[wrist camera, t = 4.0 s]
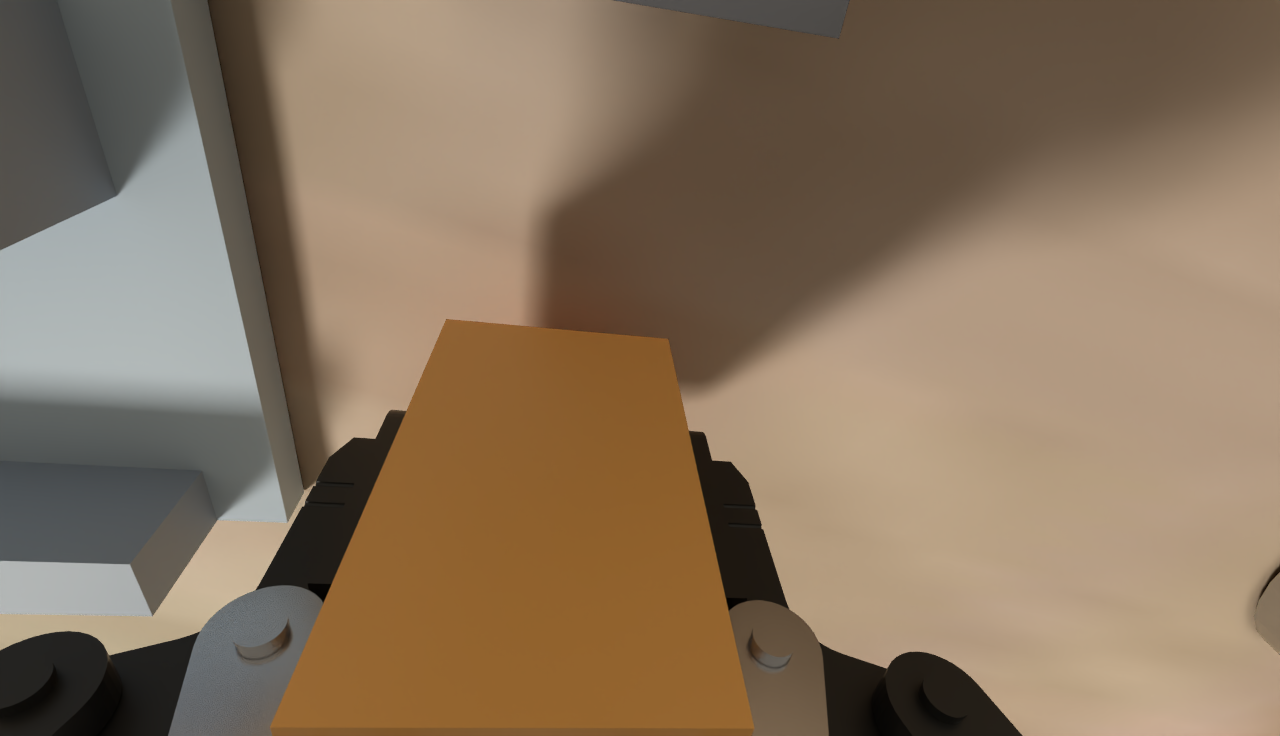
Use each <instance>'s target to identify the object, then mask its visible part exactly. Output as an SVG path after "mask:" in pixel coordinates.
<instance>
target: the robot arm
mask: <svg viewBox="0 0 1280 736" xmlns="http://www.w3.org/2000/svg"><path fill="white" fill-rule="evenodd" d="M405 414H406V411H399V410H391V411H389V412H388V414H387V416H386V418H385V420H384V422H383V424H382V426H381V428H380V431H379V433H378V435H377V437H376V439H368V438H353V439H352V440H350V441H349V442H348V443H347V444H345V445H344V446H343V447H342V448H340V449H339V450H338V451H337V452H335V453H334V454H333V455H332V456H331V457H329V459H328V461H327V463H326V465H325V466H324V468H323V470H322V472H321V474H320V475H319V477H318V479H317V481H316V486H313V488H312V490H311V492H310V493H309V495H308V497H307V499H306V501H305V506H304V507H302V508H301V510H300V512H299V513H298V515H297V517H296V519H295V521H294V522H293V524H292V526H291V528H290V530H289V532H288V533H287V535H286V537H285V539H284V541H283V542H282V544H281V546H280V548H279V550H278V551H277V553H276V555H275V557H274V559H273V560H272V562H271V564H270V566H269V568H268V570H267V571H266V573H265V575H264V577H263V579H262V580H261V582H260V584H259V586H258V587H257V589H256V590H255V591H253V592H250V593H247V594H245V595H243V596H241V597H239V598H237V599H235V600H234V601H232V602H230V603H228V604H227V605H226V606H224V607H223V608H222V609H220V610H219V611H218V612H217V613H216V614H215V615H214V616H213V617H212V618H210V620H209V621H208V622H207V623H206V624H205V626H204V627H203V628H202V630H201V631H200V632H198V633H195V634H193V635H190V636H187V637H183V638H180V639H176V640H172V641H168V642H164V643H160V644H156V645H151V646H147V647H143V648H139V649H135V650H130V651H126V652H122V653H118V654H114V655H108V653H107V651H106V649H105V647H104V645H103V644H102V643H101V642H100V641H99V640H98V639H97V638H95V637H93V636H91V635H89V634H85V633H81V632H70V631H67V632H54V633H49V634H43V635H39V636H36V637H32V638H29V639H26V640H23V641H21V642H18V643H15V644H13V645H11V646H9V647H7V648H5V649H2V650H0V736H272V733H271V730H270V726H271V723H272V721H273V719H274V716H275V714H276V712H277V709H278V707H279V705H280V703H281V700H282V698H283V696H284V693H285V691H286V689H287V686H288V684H289V682H290V679H291V677H292V675H293V672H294V670H295V668H296V666H297V663H298V661H299V659H300V656H301V654H302V652H303V649H304V647H305V645H306V642H307V640H308V638H309V635H310V633H311V631H312V629H313V626H314V624H315V622H316V619H317V617H318V615H319V612H320V610H321V608H322V605H323V603H324V601H325V598H326V596H327V594H328V592H329V589H330V587H331V585H332V582H333V580H334V578H335V575H336V573H337V571H338V568H339V566H340V564H341V561H342V559H343V557H344V555H345V552H346V550H347V548H348V545H349V543H350V541H351V538H352V536H353V534H354V531H355V529H356V527H357V525H358V522H359V520H360V518H361V515H362V513H363V511H364V508H365V506H366V504H367V501H368V499H369V497H370V494H371V492H372V490H373V488H374V485H375V483H376V481H377V478H378V476H379V474H380V471H381V469H382V467H383V464H384V462H385V460H386V457H387V455H388V453H389V451H390V448H391V446H392V444H393V441H394V439H395V437H396V434H397V432H398V430H399V427H400V425H401V423H402V420H403V418H404V416H405ZM689 435H690V439H691V444H692V448H693V453H694V457H695V462H696V466H697V471H698V476H699V480H700V485H701V489H702V494H703V498H704V503H705V507H706V512H707V516H708V521H709V525H710V530H711V534H712V539H713V543H714V548H715V552H716V557H717V561H718V566H719V570H720V575H721V579H722V584H723V588H724V593H725V597H726V602H727V606H728V611H729V615H730V620H731V624H732V629H733V633H734V638H735V642H736V647H737V652H738V656H739V661H740V665H741V670H742V674H743V679H744V683H745V688H746V692H747V697H748V701H749V706H750V710H751V715H752V719H753V724H754V728H755V729H754V731H753V733H752V735H751V736H1022V735H1021V733H1020V732H1019V731H1018V730H1017V729H1016V728H1015V727H1014V725H1013V724H1012V723H1011V722H1010V721H1009V720H1008V719H1007V717H1006V716H1005V715H1004V714H1003V713H1002V712H1001V711H1000V709H999V708H998V707H997V706H996V705H995V704H994V702H993V701H992V700H991V699H990V698H989V697H988V696H987V694H986V693H985V692H984V691H983V690H982V689H981V688H980V686H979V685H978V684H977V683H976V682H975V681H974V680H973V679H972V678H971V677H970V676H969V675H967V674H966V673H965V672H964V671H963V670H961V669H960V668H958V667H957V666H956V665H954V664H952V663H951V662H949V661H947V660H945V659H943V658H941V657H938V656H936V655H932V654H929V653H924V652H908V653H904V654H901V655H899V656H898V657H896V658H895V659H894V660H893V661H892V662H891V664H890V665H889V667H888V669H886V668H883V667H880V666H877V665H874V664H871V663H868V662H865V661H862V660H859V659H856V658H853V657H850V656H847V655H844V654H841V653H839V652H836V651H834V650H832V649H830V648H828V647H826V646H824V645H823V644H821V643H820V642H819V641H818V639H817V638H816V636H815V634H814V632H813V631H812V630H811V628H810V627H809V626H808V625H807V624H806V622H805V621H804V620H803V619H801V618H800V617H799V616H798V615H797V614H795V613H794V612H792V611H791V610H789V607H788V605H787V602H786V600H785V596H784V593H783V590H782V587H781V584H780V581H779V578H778V574H777V571H776V568H775V565H774V562H773V559H772V556H771V553H770V549H769V546H768V543H767V540H766V537H765V534H764V531H763V529H761V525H762V524H761V521H760V518H759V515H758V512H757V510H755V502H754V499H753V496H752V493H751V490H750V487H749V483H748V482H747V480H746V479H745V478H744V477H743V476H742V475H741V473H740V472H739V471H738V470H737V469H736V467H735V466H734V465H733V464H732V463H731V462H725V461H712V459H711V455H710V451H709V447H708V443H707V439H706V436H705V434H704V433H703V432H695V431H689ZM1254 620H1255V627H1256V630H1257V631H1258V633H1259V634H1260V635H1261V637H1262V638H1263V639H1264V640H1265V641H1266V642H1267V643H1268V644H1269V645H1270V646H1271V647H1272V648H1273V649H1274V650H1275V651H1276V652H1277V653H1278V654H1279V655H1280V572H1279V574H1278V575H1277V576H1276V577H1275V578H1274V579H1273V580H1272V581H1271V582H1270V584H1269V585H1268V587H1267V588H1266V590H1265V592H1264V593H1263V595H1262V596H1261V598H1260V599H1259V601H1258V605H1257V608H1256V612H1255V615H1254Z"/></svg>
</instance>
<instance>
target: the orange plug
mask: <svg viewBox="0 0 1280 736" xmlns="http://www.w3.org/2000/svg"><path fill="white" fill-rule="evenodd" d="M754 729H755V728H754V724H753V719H752V715H751V710H750V706H749V701H748V697H747V692H746V688H745V683H744V679H743V674H742V670H741V665H740V661H739V656H738V652H737V647H736V642H735V638H734V633H733V629H732V624H731V620H730V615H729V611H728V606H727V602H726V597H725V593H724V588H723V584H722V579H721V575H720V570H719V566H718V561H717V557H716V552H715V548H714V543H713V539H712V534H711V530H710V525H709V521H708V516H707V512H706V507H705V503H704V498H703V494H702V489H701V485H700V480H699V476H698V471H697V466H696V462H695V457H694V453H693V448H692V444H691V439H690V435H689V430H688V426H687V421H686V417H685V412H684V408H683V403H682V399H681V394H680V390H679V385H678V381H677V376H676V372H675V367H674V363H673V358H672V354H671V349H670V345H669V340H668V339H664V338H653V337H642V336H630V335H619V334H608V333H596V332H585V331H574V330H563V329H551V328H540V327H529V326H518V325H506V324H495V323H484V322H472V321H461V320H450V319H446V321H445V323H444V326H443V328H442V330H441V333H440V335H439V337H438V340H437V342H436V344H435V347H434V349H433V351H432V353H431V356H430V358H429V360H428V363H427V365H426V367H425V370H424V372H423V374H422V377H421V379H420V381H419V383H418V386H417V388H416V390H415V393H414V395H413V397H412V400H411V402H410V404H409V407H408V409H407V411H406V414H405V416H404V418H403V420H402V423H401V425H400V427H399V430H398V432H397V434H396V437H395V439H394V441H393V444H392V446H391V448H390V451H389V453H388V455H387V457H386V460H385V462H384V464H383V467H382V469H381V471H380V474H379V476H378V478H377V481H376V483H375V485H374V488H373V490H372V492H371V494H370V497H369V499H368V501H367V504H366V506H365V508H364V511H363V513H362V515H361V518H360V520H359V522H358V525H357V527H356V529H355V531H354V534H353V536H352V538H351V541H350V543H349V545H348V548H347V550H346V552H345V555H344V557H343V559H342V561H341V564H340V566H339V568H338V571H337V573H336V575H335V578H334V580H333V582H332V585H331V587H330V589H329V592H328V594H327V596H326V598H325V601H324V603H323V605H322V608H321V610H320V612H319V615H318V617H317V619H316V622H315V624H314V626H313V629H312V631H311V633H310V635H309V638H308V640H307V642H306V645H305V647H304V649H303V652H302V654H301V656H300V659H299V661H298V663H297V666H296V668H295V670H294V672H293V675H292V677H291V679H290V682H289V684H288V686H287V689H286V691H285V693H284V696H283V698H282V700H281V703H280V705H279V707H278V709H277V712H276V714H275V716H274V719H273V721H272V723H271V726H270V730H271V733H272V736H751V735H752V733H753V731H754Z"/></svg>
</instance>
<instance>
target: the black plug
mask: <svg viewBox="0 0 1280 736" xmlns="http://www.w3.org/2000/svg"><path fill="white" fill-rule="evenodd" d="M615 1H621V2H627V3H633V4H639V5H644V6H650V7H656V8H662V9H668V10H674V11H680V12H686V13H691V14H697V15H703V16H709V17H715V18H721V19H727V20H733V21H738V22H744V23H750V24H756V25H762V26H768V27H774V28H780V29H785V30H791V31H797V32H803V33H809V34H815V35H821V36H826V37H832V38H838V39H839V36H840V33H841V29H842V26H843V22H844V18H845V15H846V11H847V8H848V4H849V1H850V0H615Z"/></svg>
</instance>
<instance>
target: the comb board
mask: <svg viewBox="0 0 1280 736" xmlns="http://www.w3.org/2000/svg"><path fill="white" fill-rule="evenodd" d="M303 493H304V490H303V485H302V479H301V474H300V469H299V464H298V459H297V454H296V449H295V444H294V439H293V434H292V429H291V423H290V418H289V413H288V408H287V403H286V398H285V393H284V388H283V383H282V378H281V373H280V368H279V362H278V357H277V352H276V347H275V342H274V337H273V332H272V327H271V322H270V317H269V312H268V306H267V301H266V296H265V291H264V286H263V281H262V276H261V271H260V266H259V261H258V256H257V251H256V245H255V240H254V235H253V230H252V225H251V220H250V215H249V210H248V205H247V200H246V195H245V189H244V184H243V179H242V174H241V169H240V164H239V159H238V154H237V149H236V144H235V139H234V134H233V128H232V123H231V118H230V113H229V108H228V103H227V98H226V93H225V88H224V83H223V78H222V72H221V67H220V62H219V57H218V52H217V47H216V42H215V37H214V32H213V27H212V22H211V17H210V11H209V6H208V1H207V0H0V614H45V615H106V616H153V615H154V613H155V612H156V610H157V609H158V607H159V606H160V604H161V603H162V601H163V600H164V599H165V597H166V596H167V594H168V593H169V591H170V590H171V588H172V587H173V585H174V584H175V582H176V581H177V579H178V578H179V576H180V575H181V573H182V572H183V570H184V569H185V567H186V566H187V564H188V563H189V561H190V560H191V558H192V557H193V555H194V554H195V552H196V551H197V549H198V548H199V546H200V545H201V543H202V542H203V540H204V539H205V537H206V536H207V534H208V533H209V532H210V530H211V529H212V527H213V526H214V524H215V523H216V521H217V520H231V521H257V522H283V523H288V521H289V519H290V517H291V515H292V513H293V512H294V510H295V508H296V506H297V504H298V502H299V501H300V499H301V497H302V495H303Z"/></svg>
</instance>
